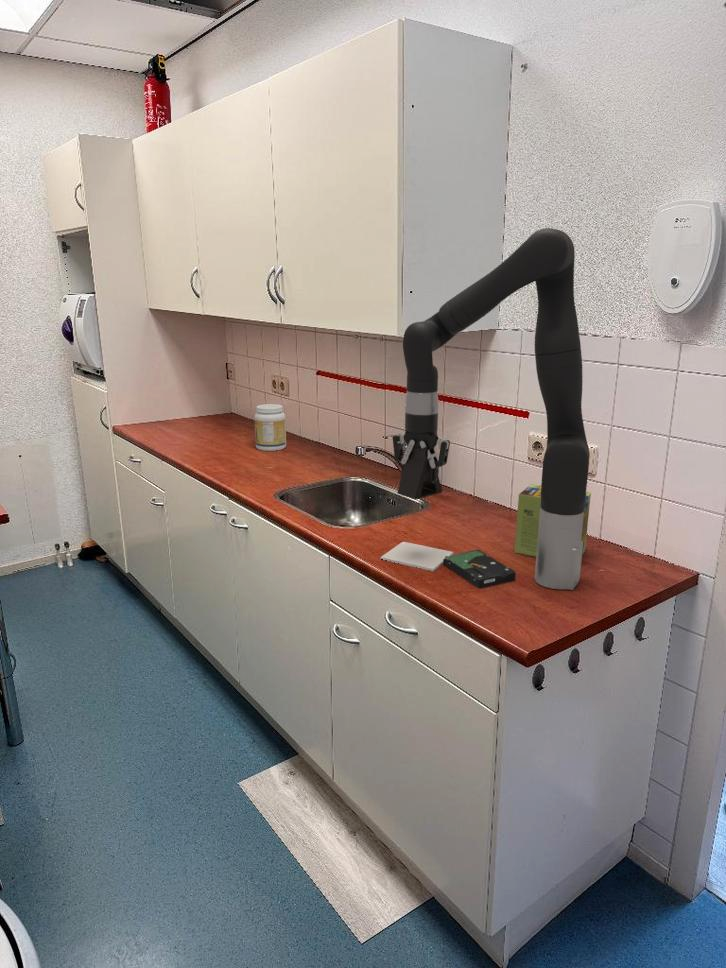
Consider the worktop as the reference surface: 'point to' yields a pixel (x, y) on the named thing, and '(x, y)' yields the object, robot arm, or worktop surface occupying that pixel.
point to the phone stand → (418, 476)
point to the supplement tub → (270, 427)
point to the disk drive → (479, 569)
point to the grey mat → (417, 556)
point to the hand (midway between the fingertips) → (419, 480)
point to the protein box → (537, 520)
